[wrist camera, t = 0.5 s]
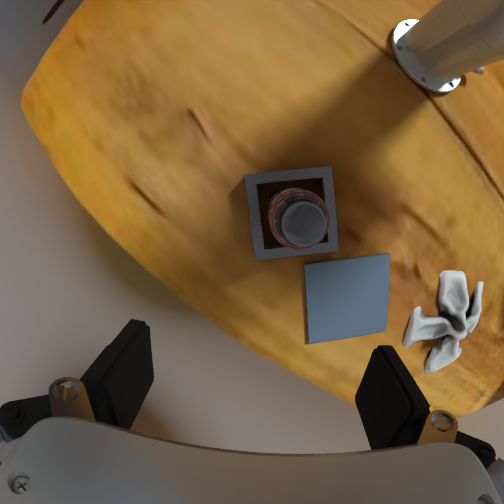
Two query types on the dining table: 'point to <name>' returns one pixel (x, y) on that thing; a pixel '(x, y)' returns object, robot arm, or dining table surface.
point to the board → (347, 297)
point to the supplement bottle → (298, 218)
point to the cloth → (446, 320)
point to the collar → (260, 248)
